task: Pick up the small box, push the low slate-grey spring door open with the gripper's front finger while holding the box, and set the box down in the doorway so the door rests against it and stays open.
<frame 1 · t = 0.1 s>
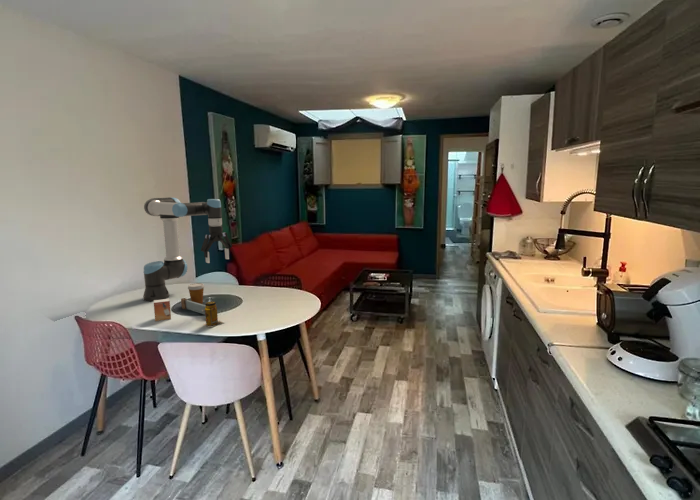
hand: (217, 260, 228), 28 cm above the table, tool pointing down, fingers open, 13 cm apart
small brown block: (187, 309, 227), on the table
disposable coffee cup: (197, 303, 238), on the table
condiment: (213, 324, 203), on the table
door: (195, 307, 220), point 3 cm above the table, hinge at 0.0°
small box: (163, 319, 211), on the table
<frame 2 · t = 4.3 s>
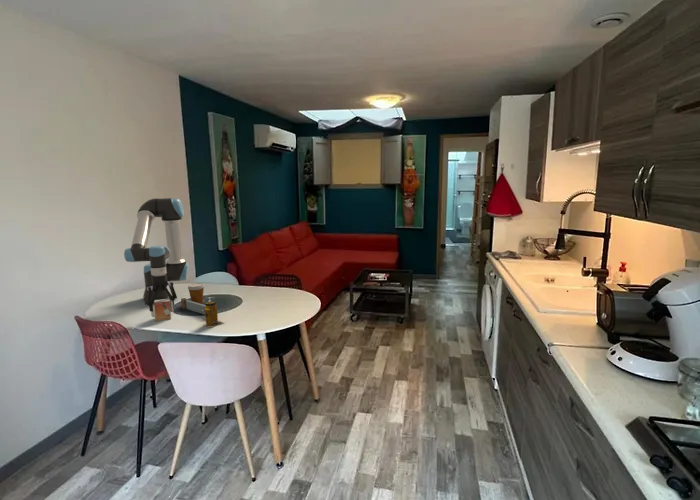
hand: (162, 314, 210), 3 cm above the table, tool pointing down, fingers closed on small box, 9 cm apart
small box: (163, 319, 211), on the table, touching gripper
everything else where it was.
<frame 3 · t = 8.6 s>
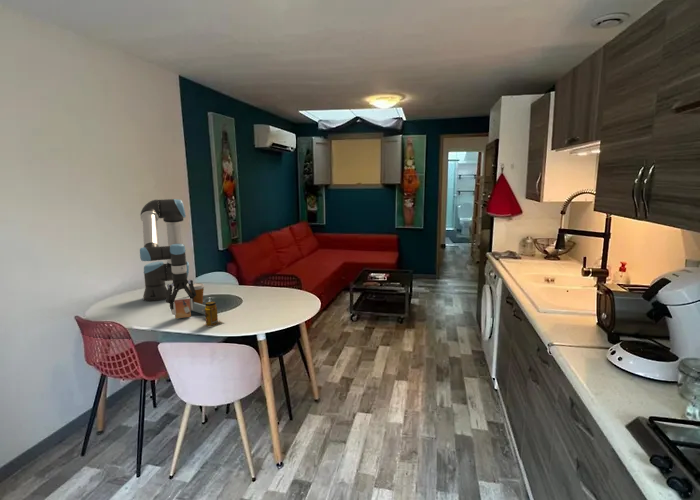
hand: (182, 311, 211), 3 cm above the table, tool pointing down, fingers closed on small box, 9 cm apart
small box: (183, 316, 212), point 1 cm above the table, touching gripper
everything else where it was.
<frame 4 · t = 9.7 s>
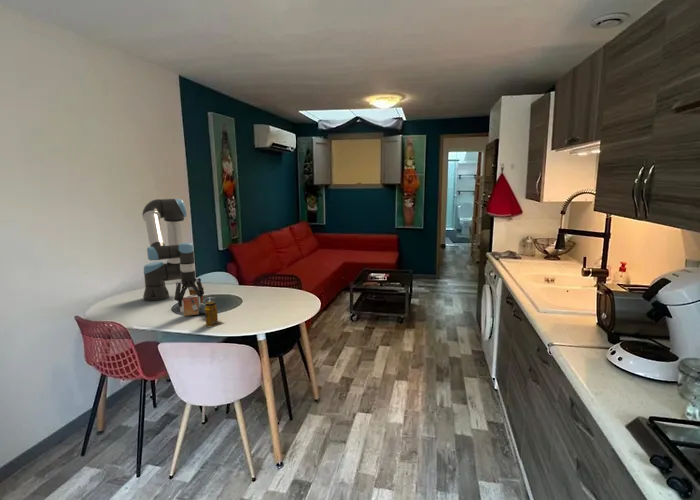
hand: (190, 309, 215), 3 cm above the table, tool pointing down, fingers closed on small box, 9 cm apart
door: (197, 307, 221), point 3 cm above the table, hinge at 5.6°, touching gripper
small box: (191, 314, 216), point 1 cm above the table, touching gripper
everything else where it was.
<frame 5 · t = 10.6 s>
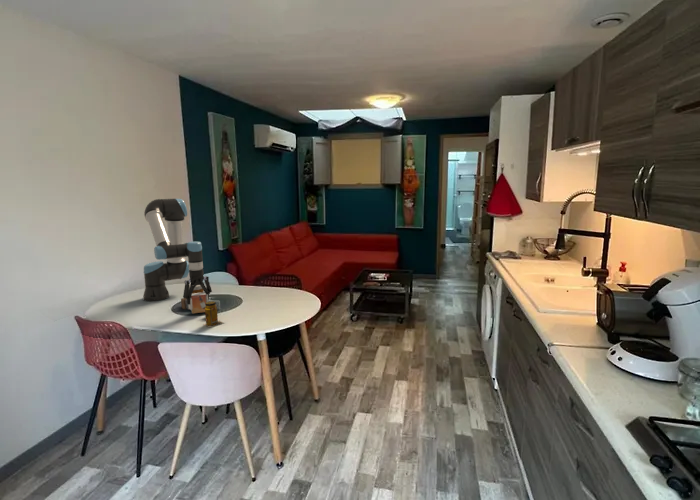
hand: (198, 307, 219), 3 cm above the table, tool pointing down, fingers closed on small box, 9 cm apart
door: (202, 305, 225), point 3 cm above the table, hinge at 30.9°, touching gripper
small box: (199, 311, 220), point 1 cm above the table, touching gripper
everything else where it was.
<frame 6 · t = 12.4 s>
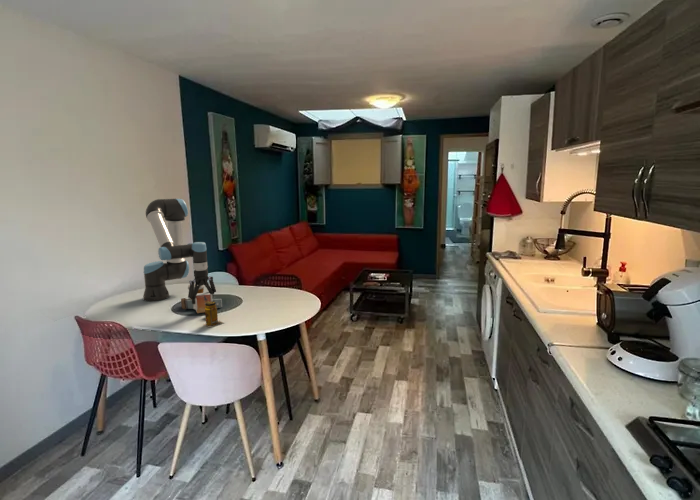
hand: (203, 306, 222), 3 cm above the table, tool pointing down, fingers closed on small box, 9 cm apart
door: (203, 304, 227), point 3 cm above the table, hinge at 41.6°, touching gripper
small box: (203, 311, 222), on the table, touching gripper
everything else where it was.
when the fingers open (3 cm above the table, at t = 13.1 s): small box stays where it is, on the table.
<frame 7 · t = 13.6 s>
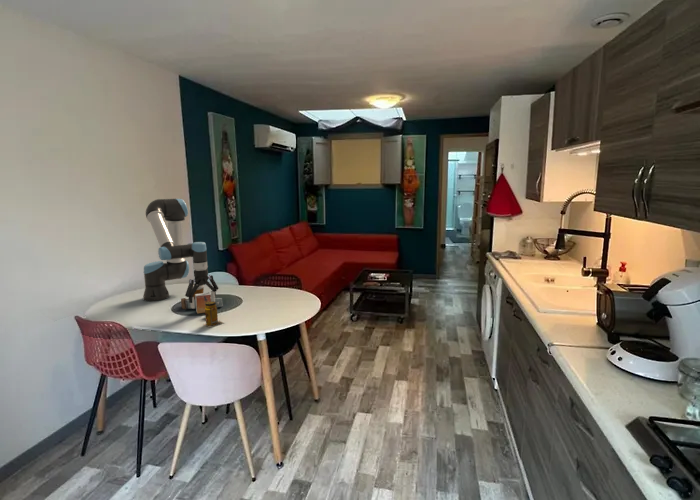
hand: (203, 305, 222), 4 cm above the table, tool pointing down, fingers open, 13 cm apart
door: (203, 303, 228), point 3 cm above the table, hinge at 46.4°, touching gripper
small box: (203, 311, 223), on the table
everything else where it was.
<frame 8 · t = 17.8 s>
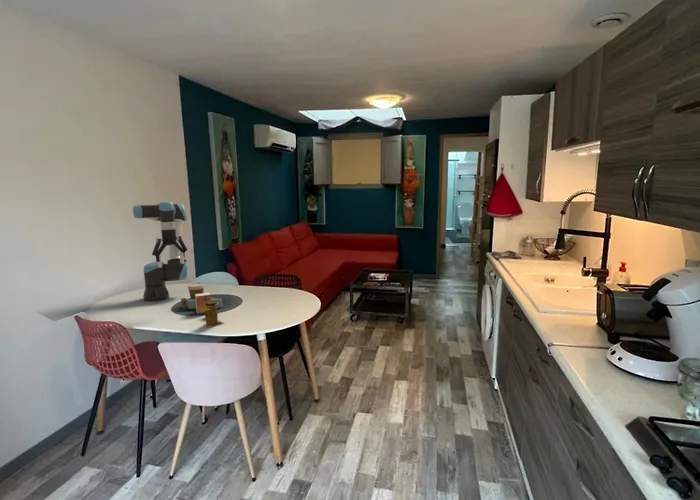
hand: (171, 265, 222), 27 cm above the table, tool pointing down, fingers open, 13 cm apart
door: (203, 303, 227), point 3 cm above the table, hinge at 42.9°
everything else where it was.
at the end: door at +43° (first picture: +0°); small box inside the target area (1.2 cm from its centre), on the table; small box tilted 0° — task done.
